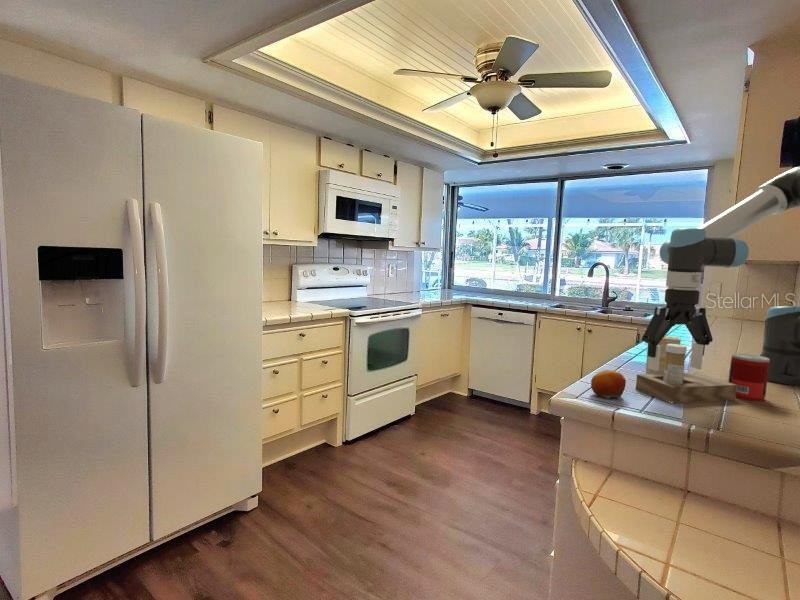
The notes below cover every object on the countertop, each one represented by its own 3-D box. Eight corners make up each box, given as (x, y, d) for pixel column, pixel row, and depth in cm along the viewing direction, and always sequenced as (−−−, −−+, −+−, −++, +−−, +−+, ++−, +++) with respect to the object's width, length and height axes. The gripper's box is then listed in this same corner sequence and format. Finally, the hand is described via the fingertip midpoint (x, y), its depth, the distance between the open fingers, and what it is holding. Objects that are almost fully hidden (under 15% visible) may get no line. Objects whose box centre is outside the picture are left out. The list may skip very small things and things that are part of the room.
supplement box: (677, 380, 132) (681, 337, 131) (676, 384, 128) (681, 339, 127) (645, 375, 137) (649, 333, 135) (644, 379, 133) (648, 336, 131)
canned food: (771, 402, 114) (776, 360, 113) (736, 399, 116) (741, 358, 114) (754, 393, 121) (759, 354, 120) (721, 390, 123) (726, 352, 122)
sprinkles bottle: (663, 390, 121) (668, 342, 119) (683, 395, 118) (688, 345, 116) (659, 394, 118) (664, 344, 116) (679, 398, 114) (685, 347, 113)
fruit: (611, 398, 107) (601, 367, 111) (591, 405, 114) (582, 375, 118) (638, 397, 110) (628, 366, 113) (617, 404, 116) (607, 374, 120)
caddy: (694, 386, 127) (696, 372, 126) (735, 399, 115) (736, 384, 115) (635, 388, 122) (636, 374, 122) (671, 403, 110) (673, 387, 110)
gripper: (653, 289, 108) (645, 373, 110) (734, 290, 114) (725, 370, 116) (631, 286, 116) (624, 366, 118) (708, 288, 121) (700, 363, 124)
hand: (674, 368), depth 117 cm, fingers open, 13 cm apart
